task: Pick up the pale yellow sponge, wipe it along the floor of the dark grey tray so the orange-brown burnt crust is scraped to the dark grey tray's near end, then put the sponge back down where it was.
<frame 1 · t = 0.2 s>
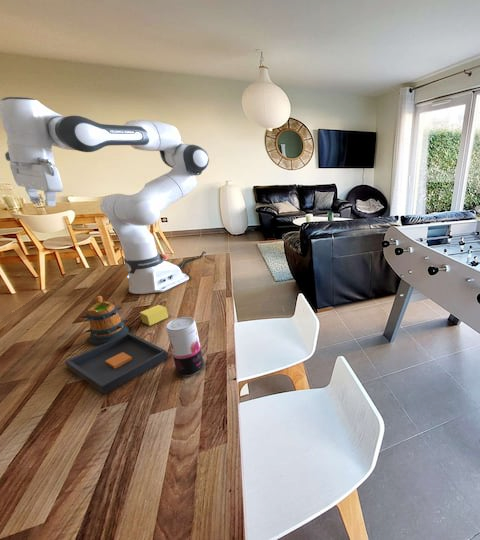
hand: (43, 204, 90), 39 cm above the breakfast bar, tool pointing down, fingers open, 8 cm apart
sponge: (155, 319, 101), on the breakfast bar
beverage can: (190, 369, 80), on the breakfast bar
dark grey tray: (119, 363, 81), on the breakfast bar
brown wooden barrel: (109, 334, 93), on the breakfast bar
crust: (119, 361, 81), resting on dark grey tray
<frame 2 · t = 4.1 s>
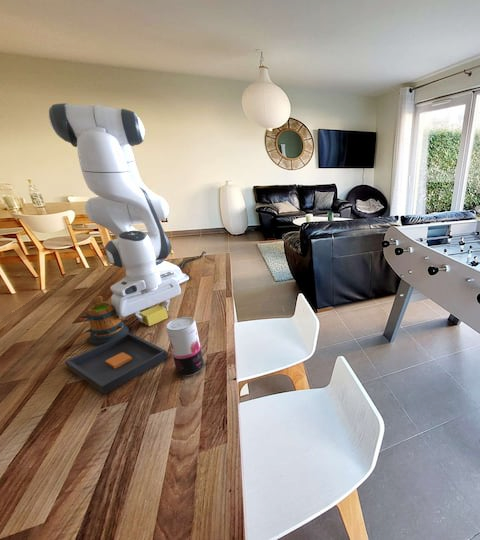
hand: (154, 315, 100), 2 cm above the breakfast bar, tool pointing down, fingers closed on sponge, 6 cm apart
sponge: (155, 320, 101), on the breakfast bar, touching gripper
everything else where it was.
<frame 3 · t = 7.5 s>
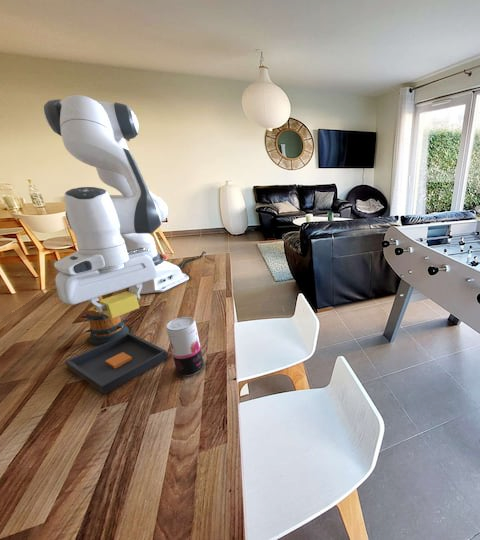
hand: (119, 305, 76), 18 cm above the breakfast bar, tool pointing down, fingers closed on sponge, 6 cm apart
sponge: (121, 310, 77), point 16 cm above the breakfast bar, touching gripper
everything else where it was.
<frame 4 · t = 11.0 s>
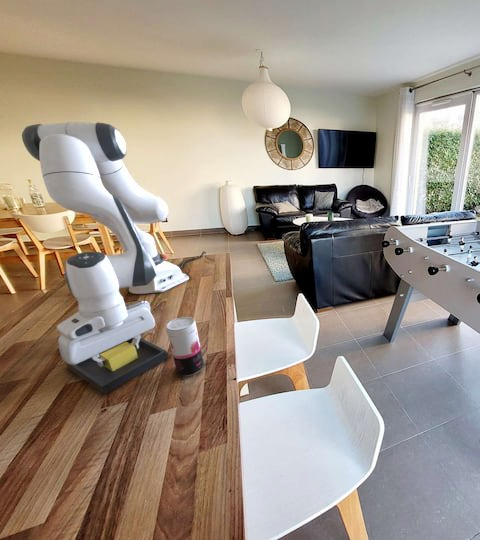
hand: (119, 356, 80), 2 cm above the breakfast bar, tool pointing down, fingers closed on sponge, 6 cm apart
sponge: (121, 361, 80), point 1 cm above the breakfast bar, touching gripper
crust: (112, 357, 82), point 1 cm above the breakfast bar
everything else where it was.
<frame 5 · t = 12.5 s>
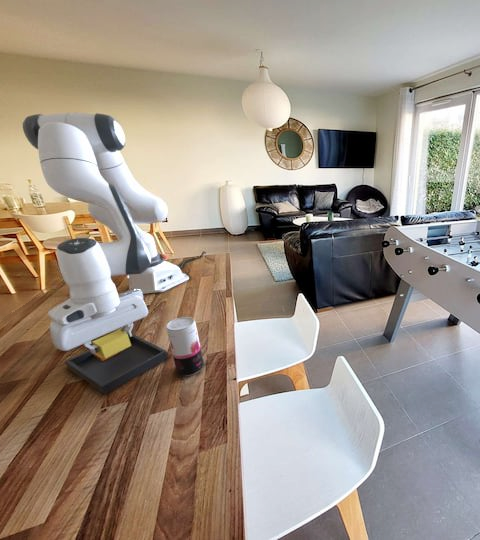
hand: (112, 344, 80), 5 cm above the breakfast bar, tool pointing down, fingers closed on sponge, 6 cm apart
sponge: (114, 349, 81), point 4 cm above the breakfast bar, touching gripper
crust: (107, 354, 83), resting on dark grey tray
everything else where it was.
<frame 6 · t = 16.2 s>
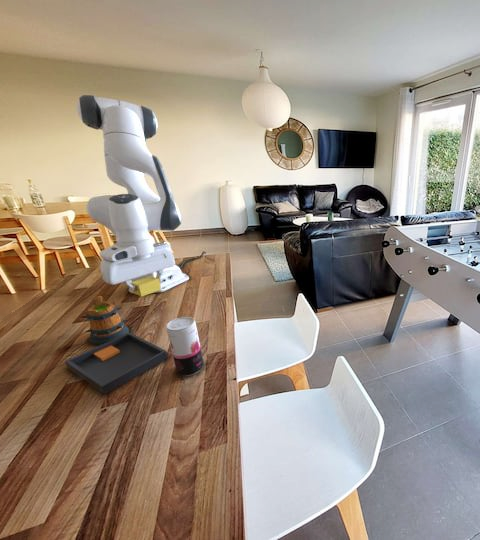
hand: (146, 286, 96), 13 cm above the breakfast bar, tool pointing down, fingers closed on sponge, 6 cm apart
sponge: (147, 291, 97), point 11 cm above the breakfast bar, touching gripper
everything else where it was.
when the fingers open (2 cm above the breakfast bar, at t = 19.2 s): sponge stays where it is, on the breakfast bar.
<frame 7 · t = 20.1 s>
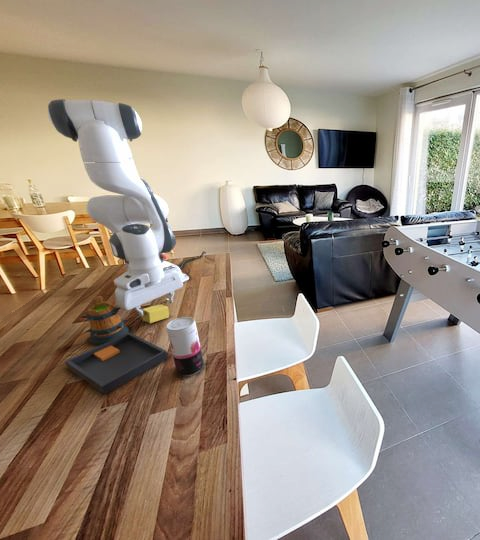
hand: (157, 308, 101), 4 cm above the breakfast bar, tool pointing down, fingers open, 8 cm apart
sponge: (155, 318, 101), on the breakfast bar, tilted 9°
everything else where it was.
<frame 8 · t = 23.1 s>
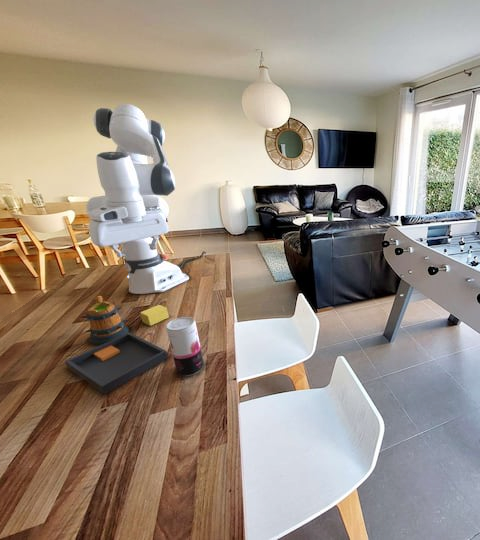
hand: (138, 252, 92), 25 cm above the breakfast bar, tool pointing down, fingers open, 8 cm apart
sponge: (156, 319, 101), on the breakfast bar
everything else where it was.
at the end: crust inside the target area in the dark grey tray (0.1 cm from its centre), point 0.5 cm above the dark grey tray's base; sponge inside the target area (0.2 cm from its centre), on the breakfast bar; the gripper is holding nothing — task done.
